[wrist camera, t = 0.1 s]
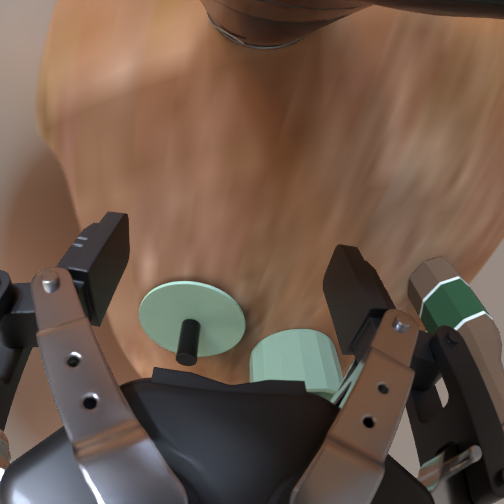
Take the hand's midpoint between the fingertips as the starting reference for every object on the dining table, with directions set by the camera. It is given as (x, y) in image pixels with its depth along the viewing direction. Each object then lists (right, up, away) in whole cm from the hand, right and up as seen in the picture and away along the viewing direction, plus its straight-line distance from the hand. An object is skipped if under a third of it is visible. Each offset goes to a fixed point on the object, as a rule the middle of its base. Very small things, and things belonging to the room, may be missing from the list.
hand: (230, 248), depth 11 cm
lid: (-7, -9, +26) cm, 28 cm away
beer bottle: (+25, -4, +24) cm, 35 cm away
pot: (+7, -16, +32) cm, 36 cm away
